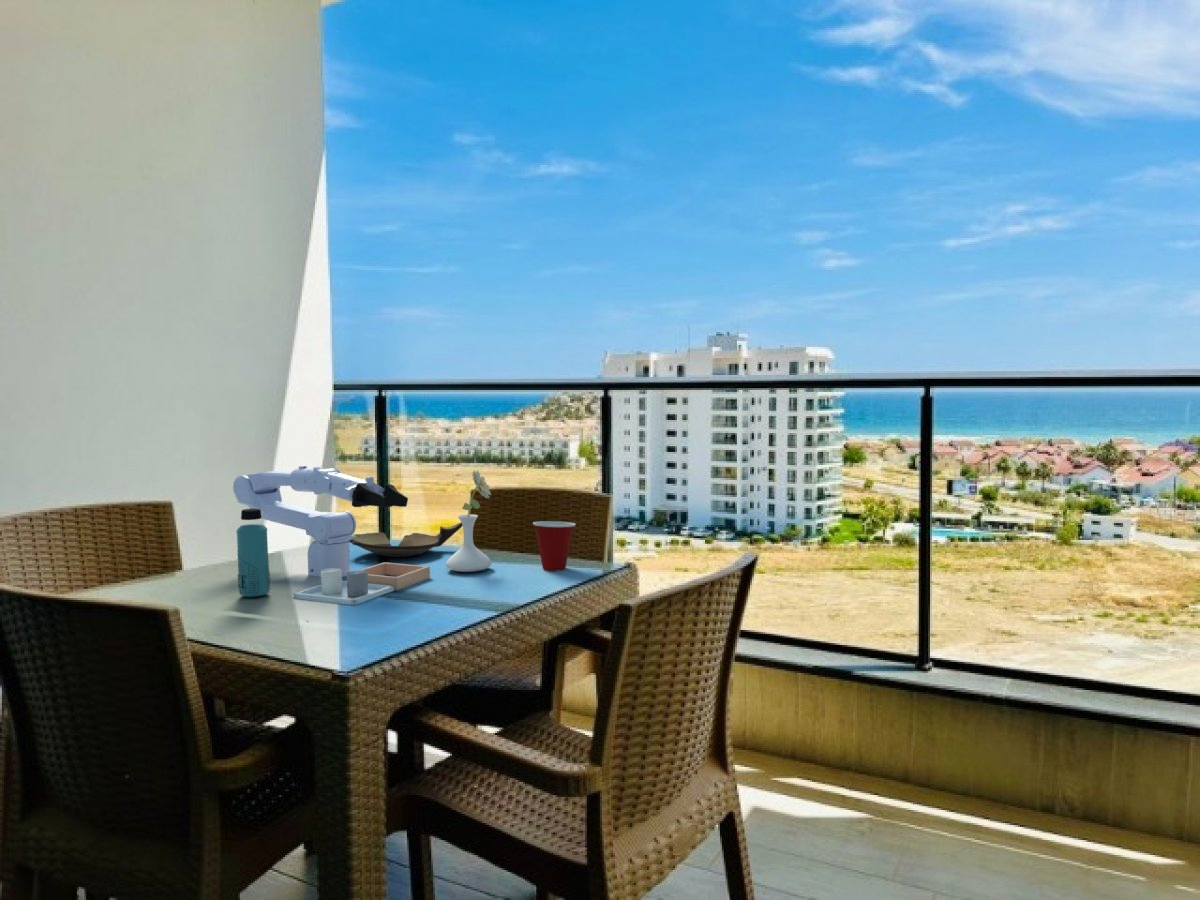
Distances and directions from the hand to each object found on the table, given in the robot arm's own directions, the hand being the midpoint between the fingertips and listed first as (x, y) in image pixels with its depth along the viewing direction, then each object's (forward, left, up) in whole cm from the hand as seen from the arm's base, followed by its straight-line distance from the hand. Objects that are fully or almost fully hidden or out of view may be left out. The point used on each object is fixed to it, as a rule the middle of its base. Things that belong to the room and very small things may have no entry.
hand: (395, 502), depth 203 cm
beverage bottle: (-22, -21, -20) cm, 37 cm away
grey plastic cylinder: (-1, -12, -19) cm, 23 cm away
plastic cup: (+25, +32, -20) cm, 45 cm away
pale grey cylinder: (-8, -12, -19) cm, 24 cm away
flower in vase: (+6, +23, -20) cm, 31 cm away
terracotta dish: (-3, +2, -20) cm, 20 cm away
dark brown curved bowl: (-20, +33, -20) cm, 43 cm away
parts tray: (-5, -12, -20) cm, 24 cm away
